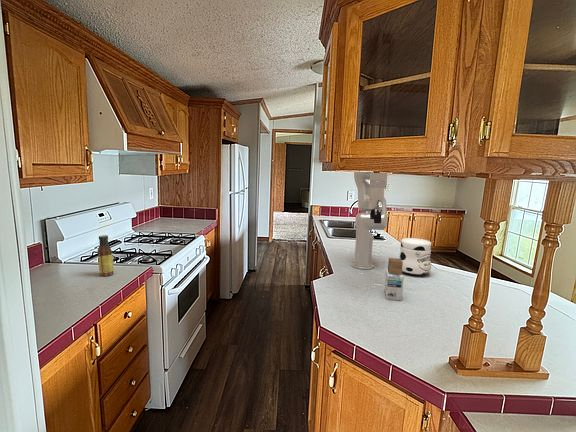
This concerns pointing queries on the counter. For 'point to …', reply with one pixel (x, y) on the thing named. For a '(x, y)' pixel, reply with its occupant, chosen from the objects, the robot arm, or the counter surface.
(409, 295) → the counter surface
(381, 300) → the counter surface
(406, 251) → the milk container
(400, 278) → the light bulb box
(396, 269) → the walnut block
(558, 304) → the counter surface
